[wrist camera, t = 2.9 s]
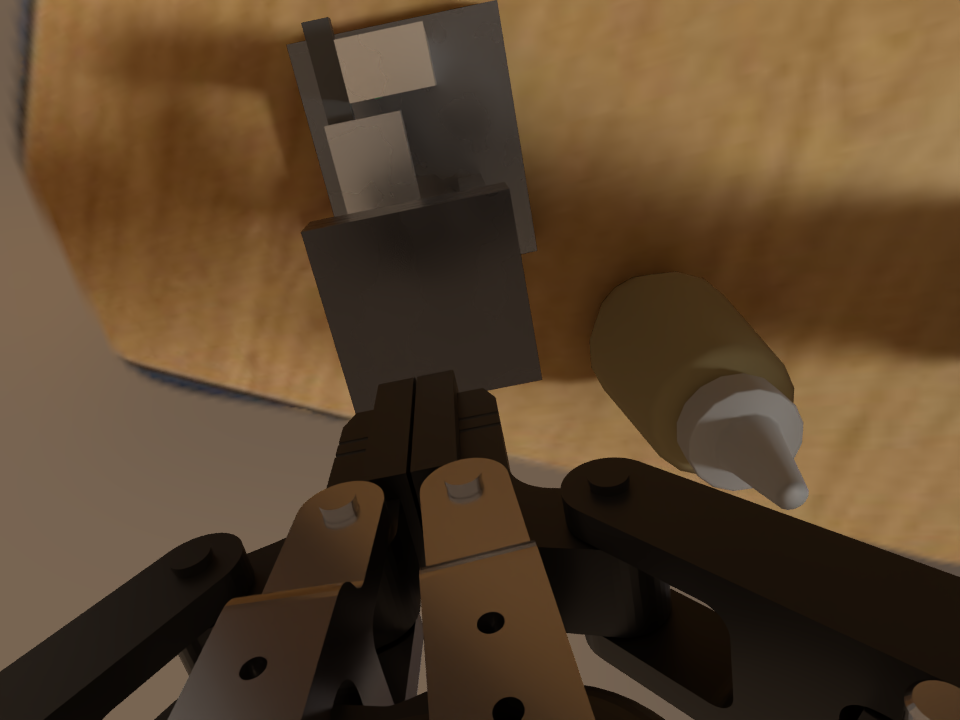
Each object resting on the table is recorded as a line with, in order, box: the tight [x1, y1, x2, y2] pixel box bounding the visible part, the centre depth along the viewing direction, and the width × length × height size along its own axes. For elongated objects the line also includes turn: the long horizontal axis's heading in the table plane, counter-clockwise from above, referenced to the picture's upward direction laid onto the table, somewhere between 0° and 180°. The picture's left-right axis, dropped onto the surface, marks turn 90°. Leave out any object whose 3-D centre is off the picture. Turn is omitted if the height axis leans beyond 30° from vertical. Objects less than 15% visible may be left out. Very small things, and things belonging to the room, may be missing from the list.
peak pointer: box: [301, 17, 355, 125], centre depth 26 cm, size 6×1×1 cm, turn 11°
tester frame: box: [287, 0, 537, 254], centre depth 29 cm, size 12×10×12 cm
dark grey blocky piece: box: [301, 110, 542, 413], centre depth 24 cm, size 8×6×10 cm
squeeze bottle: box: [590, 272, 809, 510], centre depth 31 cm, size 8×8×18 cm
